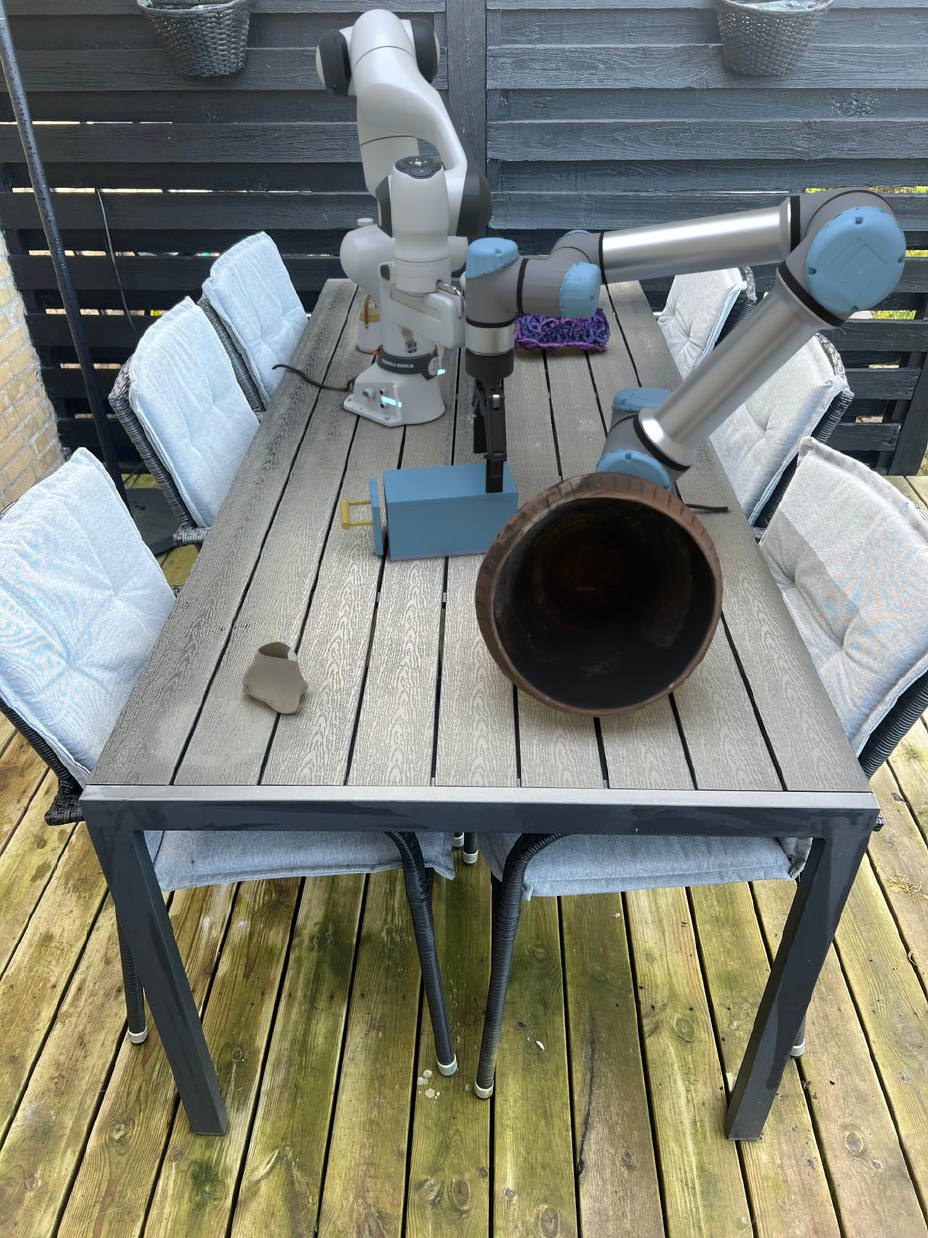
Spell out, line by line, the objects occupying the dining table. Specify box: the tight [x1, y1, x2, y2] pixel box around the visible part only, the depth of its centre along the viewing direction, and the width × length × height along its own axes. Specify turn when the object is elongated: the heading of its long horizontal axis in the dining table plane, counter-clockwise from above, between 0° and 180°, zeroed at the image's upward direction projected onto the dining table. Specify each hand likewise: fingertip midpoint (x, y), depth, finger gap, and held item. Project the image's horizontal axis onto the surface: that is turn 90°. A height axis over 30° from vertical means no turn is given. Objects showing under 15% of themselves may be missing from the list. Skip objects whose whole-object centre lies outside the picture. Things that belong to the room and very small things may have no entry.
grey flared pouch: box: [241, 641, 309, 715], centre depth 126 cm, size 9×8×10 cm
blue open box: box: [382, 460, 519, 562], centre depth 158 cm, size 22×11×11 cm, turn 98°
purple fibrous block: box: [512, 307, 611, 354], centre depth 226 cm, size 13×11×30 cm
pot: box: [474, 471, 724, 718], centre depth 130 cm, size 32×32×30 cm
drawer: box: [339, 477, 388, 556], centre depth 157 cm, size 25×10×9 cm, turn 98°
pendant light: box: [356, 217, 383, 354], centre depth 223 cm, size 8×8×30 cm
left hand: (426, 359), depth 153 cm, fingers open, 8 cm apart
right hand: (487, 471), depth 154 cm, fingers open, 13 cm apart
